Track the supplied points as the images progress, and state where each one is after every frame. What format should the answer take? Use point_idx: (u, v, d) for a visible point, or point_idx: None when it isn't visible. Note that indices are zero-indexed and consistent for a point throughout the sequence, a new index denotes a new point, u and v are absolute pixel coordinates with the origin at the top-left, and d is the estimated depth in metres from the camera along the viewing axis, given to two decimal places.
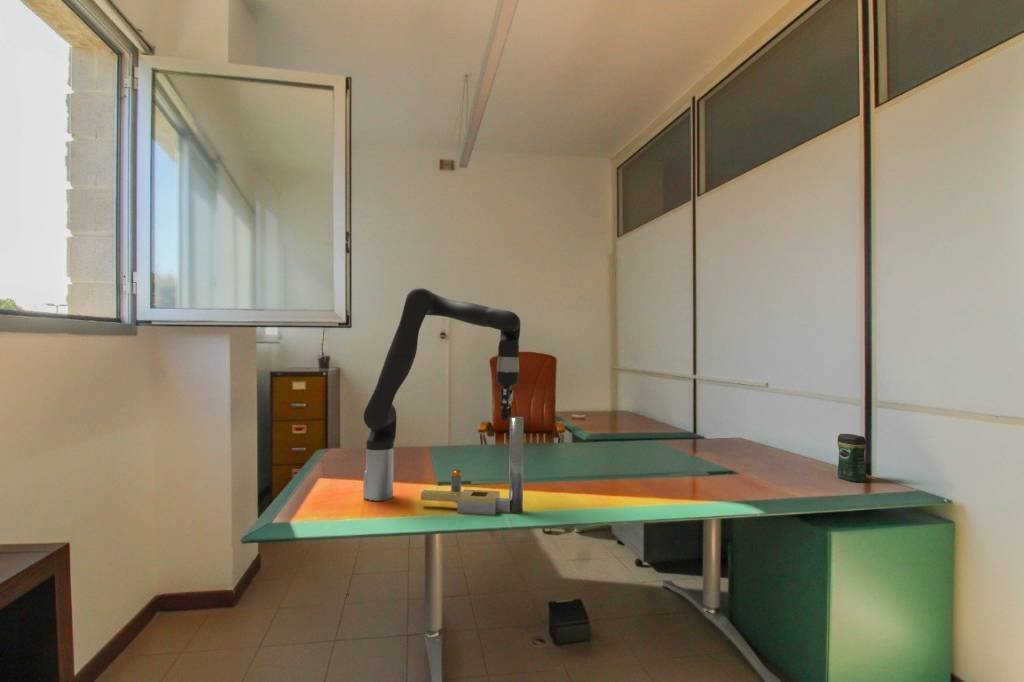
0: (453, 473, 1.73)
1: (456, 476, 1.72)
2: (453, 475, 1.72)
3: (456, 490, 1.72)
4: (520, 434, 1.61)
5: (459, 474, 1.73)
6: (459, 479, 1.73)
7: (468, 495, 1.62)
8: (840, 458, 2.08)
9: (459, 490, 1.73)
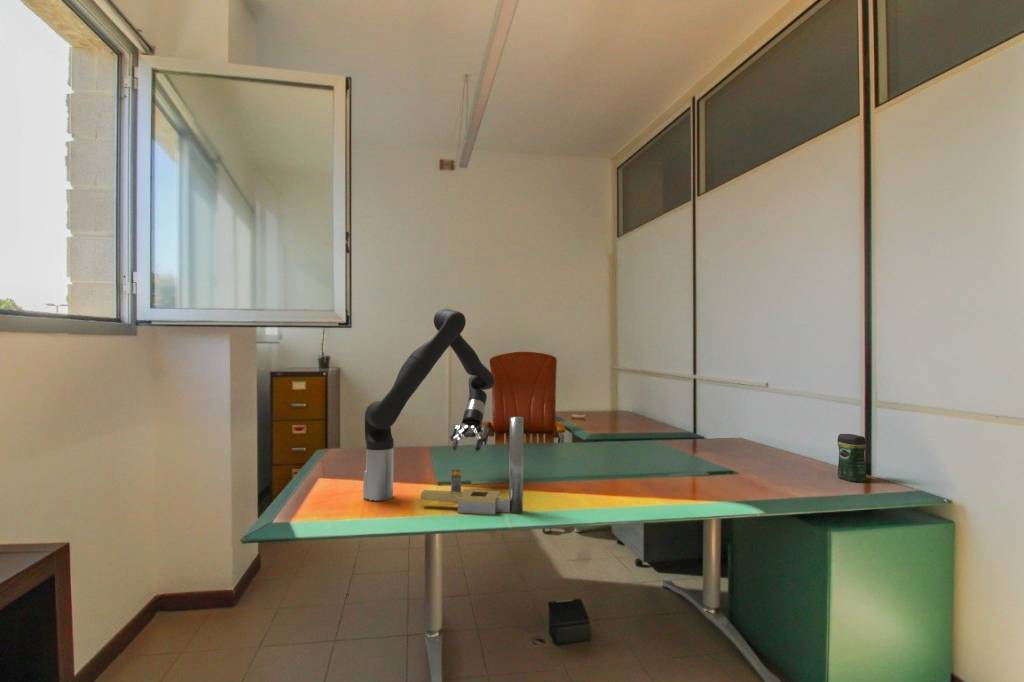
0: (453, 473, 1.73)
1: (456, 476, 1.72)
2: (453, 475, 1.72)
3: (456, 490, 1.72)
4: (520, 434, 1.61)
5: (459, 474, 1.73)
6: (459, 479, 1.73)
7: (468, 495, 1.62)
8: (840, 458, 2.08)
9: (459, 490, 1.73)
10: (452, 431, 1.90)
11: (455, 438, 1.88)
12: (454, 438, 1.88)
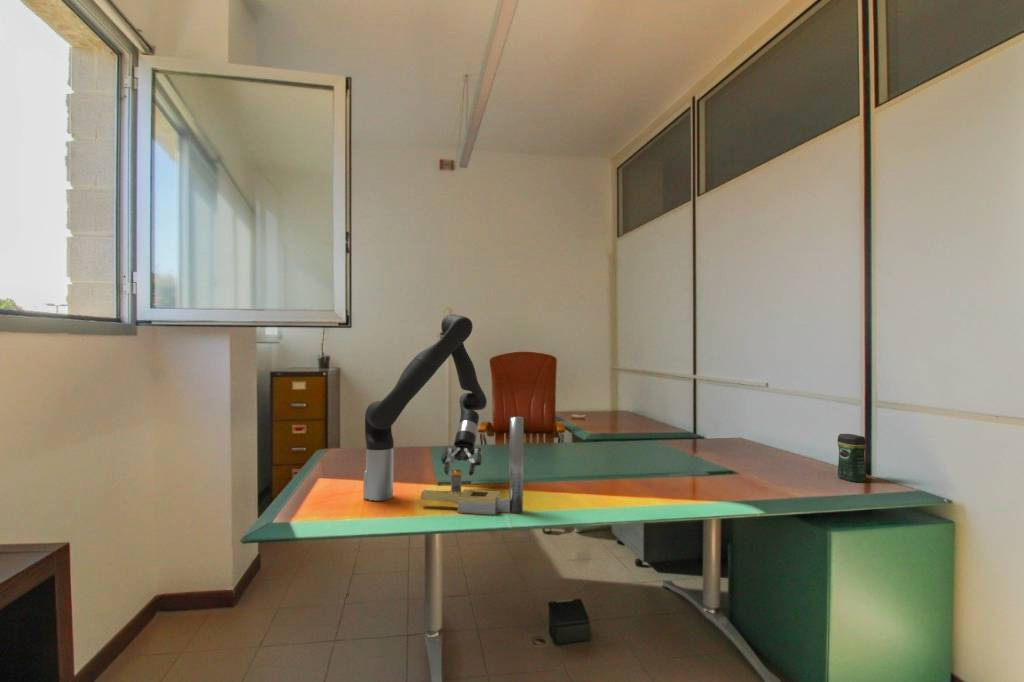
0: (453, 473, 1.73)
1: (456, 476, 1.72)
2: (453, 475, 1.72)
3: (456, 490, 1.72)
4: (520, 434, 1.61)
5: (459, 474, 1.73)
6: (459, 479, 1.73)
7: (468, 495, 1.62)
8: (840, 458, 2.08)
9: (459, 490, 1.73)
10: (444, 454, 1.82)
11: (447, 461, 1.80)
12: (446, 461, 1.80)
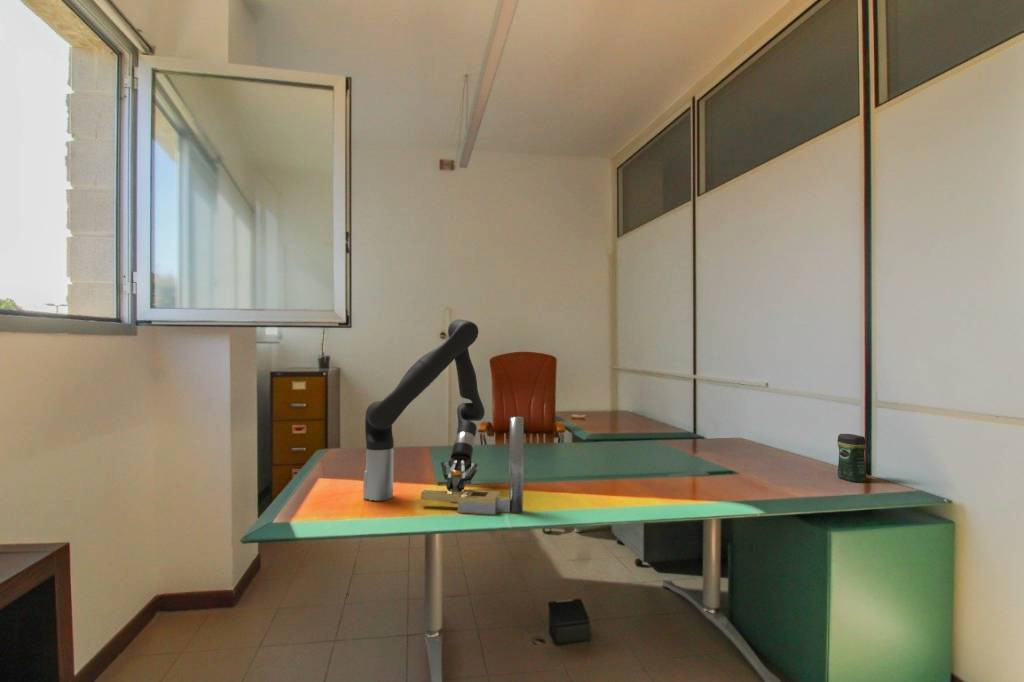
0: (453, 473, 1.73)
1: (456, 476, 1.72)
2: (453, 475, 1.72)
3: (456, 490, 1.72)
4: (520, 434, 1.61)
5: (459, 474, 1.73)
6: (459, 479, 1.73)
7: (468, 495, 1.62)
8: (840, 458, 2.08)
9: None
10: (444, 469, 1.77)
11: (449, 477, 1.74)
12: (448, 477, 1.74)
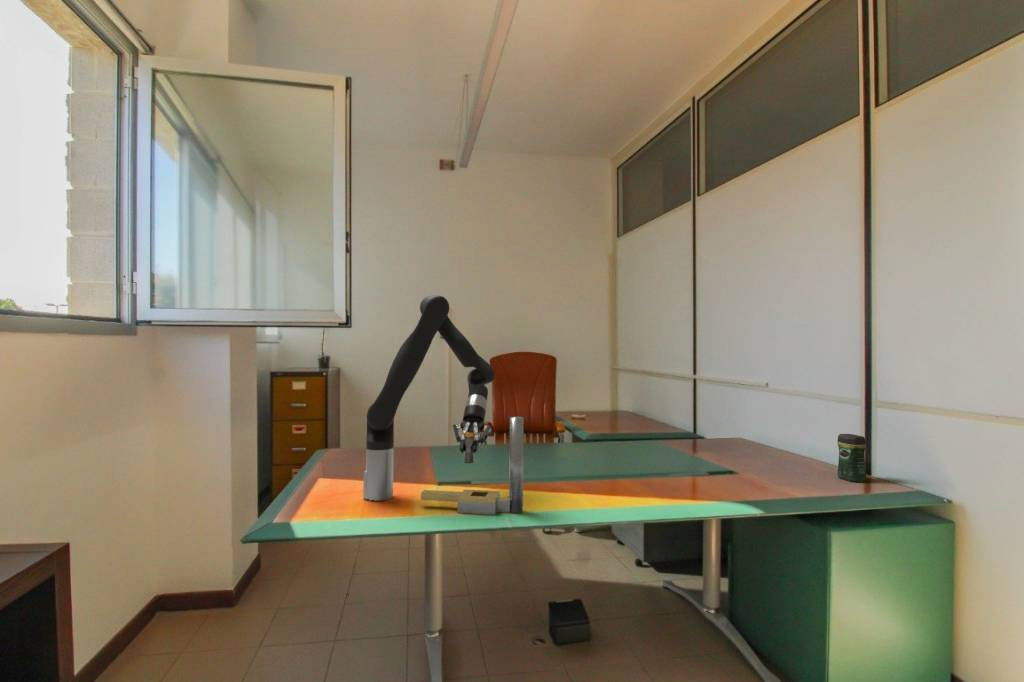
0: (466, 434, 1.68)
1: (469, 437, 1.68)
2: (466, 436, 1.68)
3: (469, 452, 1.68)
4: (520, 434, 1.61)
5: (472, 435, 1.69)
6: (472, 440, 1.69)
7: (468, 495, 1.62)
8: (840, 458, 2.08)
9: (472, 452, 1.69)
10: (456, 431, 1.72)
11: (462, 439, 1.70)
12: (461, 439, 1.70)
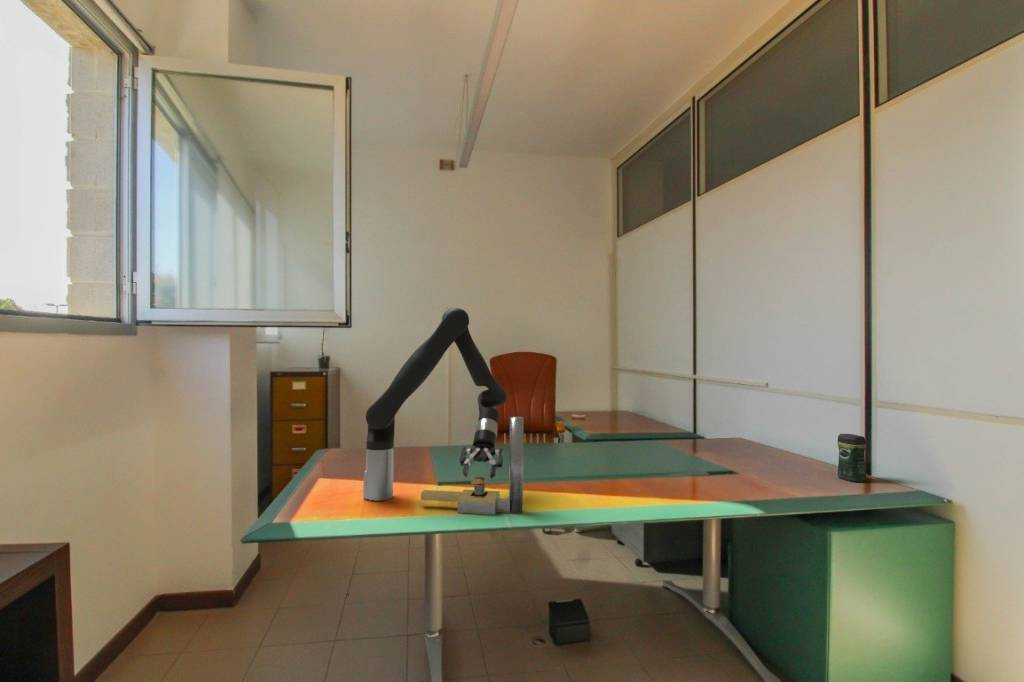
0: (477, 481, 1.62)
1: (480, 484, 1.62)
2: (477, 482, 1.62)
3: None
4: (520, 434, 1.61)
5: (483, 482, 1.63)
6: (483, 487, 1.63)
7: (468, 495, 1.62)
8: (840, 458, 2.08)
9: None
10: (462, 455, 1.68)
11: (466, 463, 1.65)
12: (465, 463, 1.65)
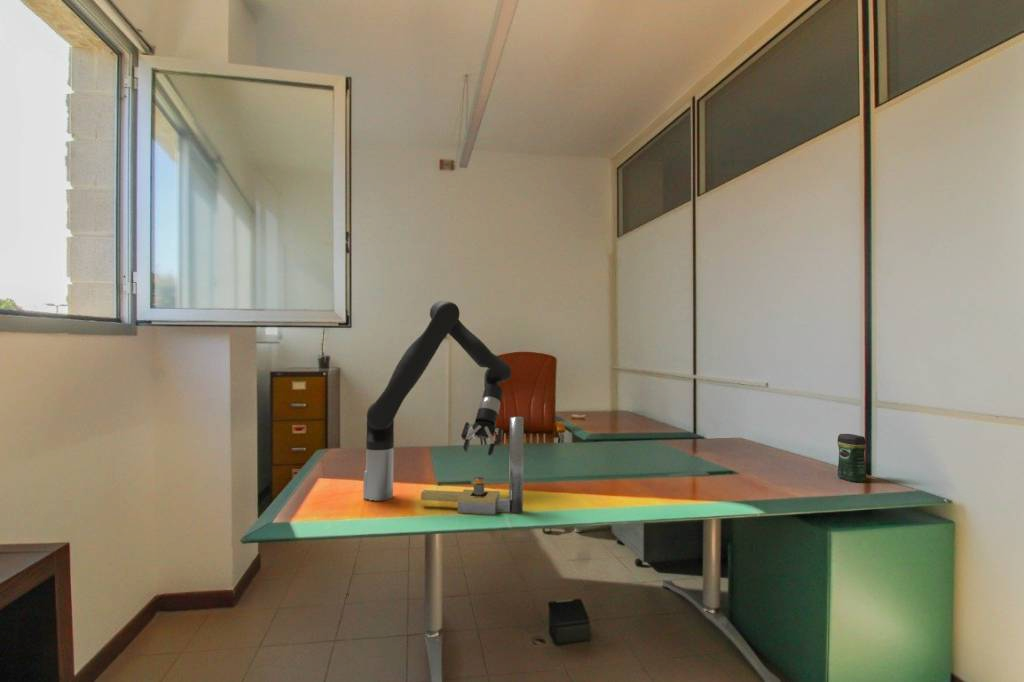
0: (476, 481, 1.62)
1: (479, 484, 1.62)
2: (476, 482, 1.62)
3: None
4: (520, 434, 1.61)
5: (482, 482, 1.63)
6: (482, 487, 1.63)
7: (468, 495, 1.62)
8: (840, 458, 2.08)
9: None
10: (464, 430, 1.81)
11: (467, 439, 1.79)
12: (466, 439, 1.79)
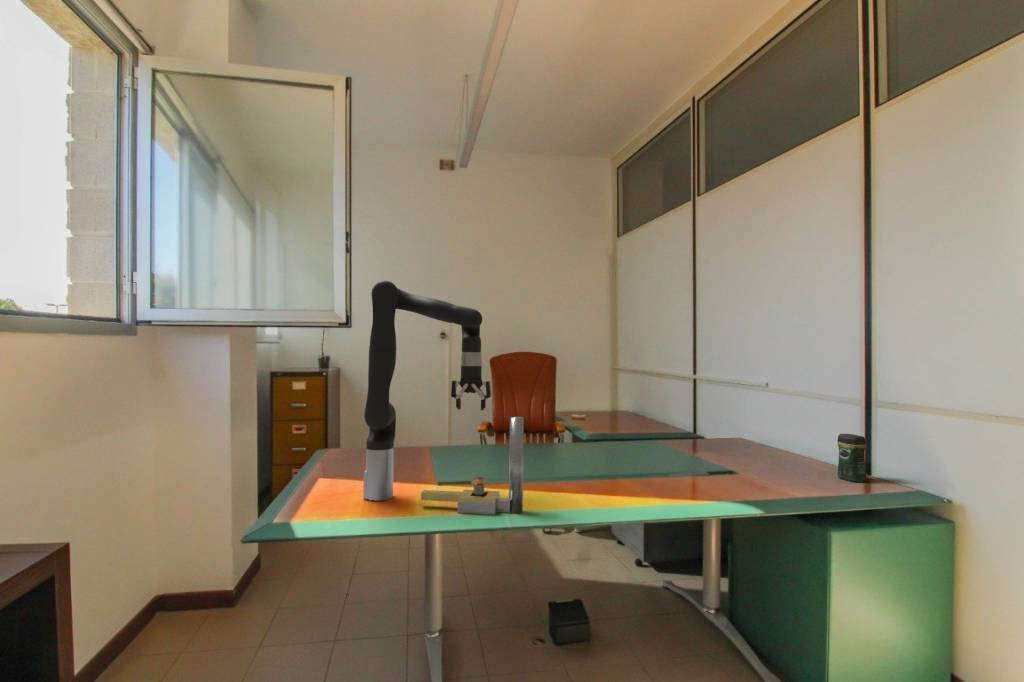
0: (476, 481, 1.62)
1: (479, 484, 1.62)
2: (476, 482, 1.62)
3: None
4: (520, 434, 1.61)
5: (482, 482, 1.63)
6: (482, 487, 1.63)
7: (468, 495, 1.62)
8: (840, 458, 2.08)
9: None
10: (453, 390, 1.82)
11: (458, 398, 1.82)
12: (456, 398, 1.82)
